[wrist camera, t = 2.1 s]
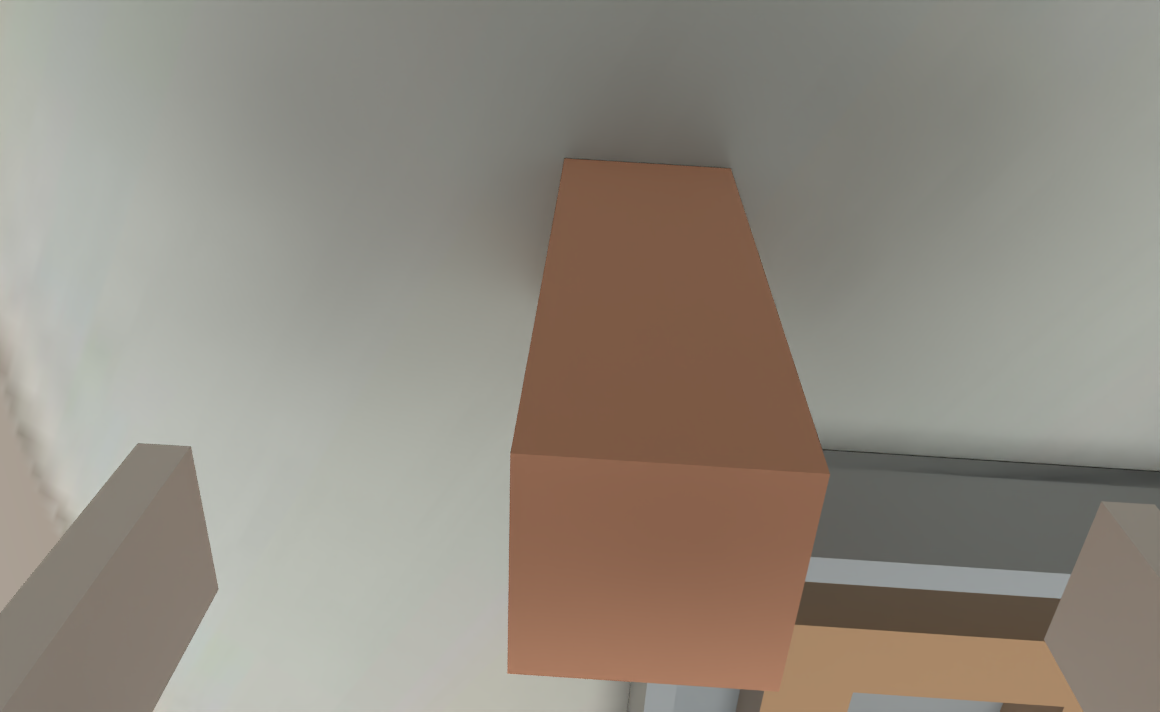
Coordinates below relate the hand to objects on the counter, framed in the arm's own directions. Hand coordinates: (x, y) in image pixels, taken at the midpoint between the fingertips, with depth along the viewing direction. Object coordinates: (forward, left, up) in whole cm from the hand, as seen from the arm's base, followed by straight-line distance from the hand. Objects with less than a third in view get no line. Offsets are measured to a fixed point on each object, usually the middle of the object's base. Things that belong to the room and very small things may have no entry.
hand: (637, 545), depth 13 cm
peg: (0, 0, -11) cm, 11 cm away
